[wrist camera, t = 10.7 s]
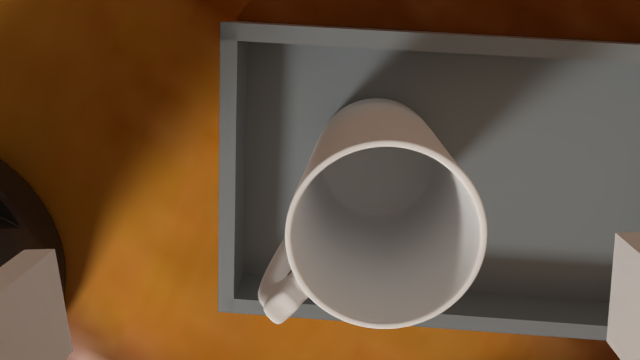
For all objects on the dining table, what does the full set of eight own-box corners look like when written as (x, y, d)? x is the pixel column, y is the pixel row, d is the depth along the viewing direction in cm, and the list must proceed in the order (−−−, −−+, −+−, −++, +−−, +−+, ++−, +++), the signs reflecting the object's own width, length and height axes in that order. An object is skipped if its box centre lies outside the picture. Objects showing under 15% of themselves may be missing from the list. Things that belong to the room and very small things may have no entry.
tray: (231, 282, 35) (218, 311, 32) (234, 20, 31) (220, 22, 28) (649, 312, 34) (681, 346, 31) (707, 46, 30) (752, 50, 27)
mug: (384, 64, 31) (400, 96, 19) (467, 163, 32) (530, 250, 20) (240, 188, 33) (175, 284, 21) (322, 276, 34) (303, 413, 22)
